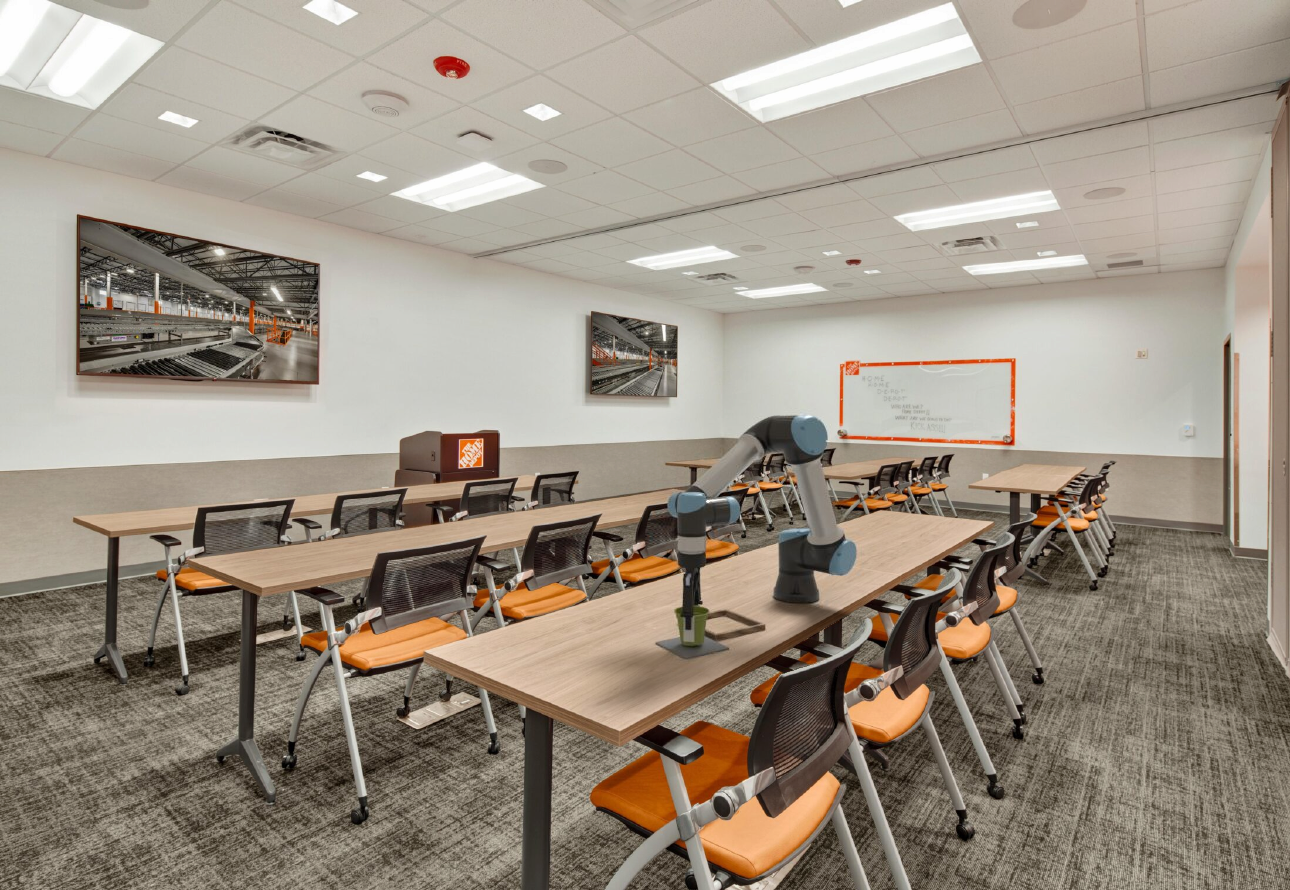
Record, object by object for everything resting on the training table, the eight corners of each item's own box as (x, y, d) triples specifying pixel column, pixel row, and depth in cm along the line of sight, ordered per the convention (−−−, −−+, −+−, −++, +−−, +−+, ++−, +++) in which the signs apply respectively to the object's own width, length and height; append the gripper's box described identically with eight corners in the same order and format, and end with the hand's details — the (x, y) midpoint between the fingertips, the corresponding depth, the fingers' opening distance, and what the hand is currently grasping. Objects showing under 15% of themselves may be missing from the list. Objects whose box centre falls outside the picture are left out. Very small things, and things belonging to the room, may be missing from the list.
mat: (697, 634, 183) (697, 632, 183) (729, 649, 171) (729, 647, 171) (655, 643, 175) (655, 642, 175) (685, 659, 163) (685, 658, 163)
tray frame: (725, 613, 202) (725, 608, 202) (765, 629, 187) (765, 624, 187) (678, 623, 193) (678, 618, 192) (715, 640, 177) (715, 635, 177)
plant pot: (668, 645, 171) (668, 612, 171) (683, 634, 179) (683, 603, 179) (701, 651, 167) (701, 617, 166) (714, 640, 175) (714, 608, 175)
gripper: (684, 542, 184) (685, 621, 185) (669, 559, 162) (670, 648, 163) (711, 543, 182) (711, 623, 183) (699, 560, 161) (699, 650, 161)
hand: (692, 634), depth 173 cm, fingers closed on plant pot, 9 cm apart
